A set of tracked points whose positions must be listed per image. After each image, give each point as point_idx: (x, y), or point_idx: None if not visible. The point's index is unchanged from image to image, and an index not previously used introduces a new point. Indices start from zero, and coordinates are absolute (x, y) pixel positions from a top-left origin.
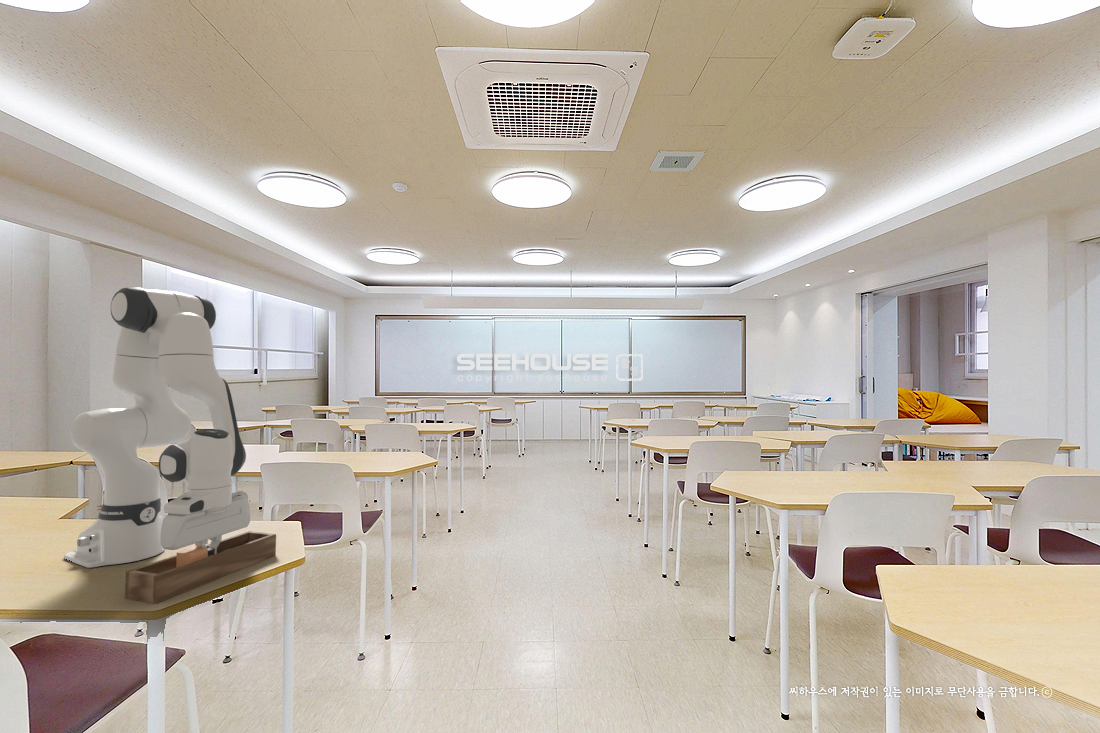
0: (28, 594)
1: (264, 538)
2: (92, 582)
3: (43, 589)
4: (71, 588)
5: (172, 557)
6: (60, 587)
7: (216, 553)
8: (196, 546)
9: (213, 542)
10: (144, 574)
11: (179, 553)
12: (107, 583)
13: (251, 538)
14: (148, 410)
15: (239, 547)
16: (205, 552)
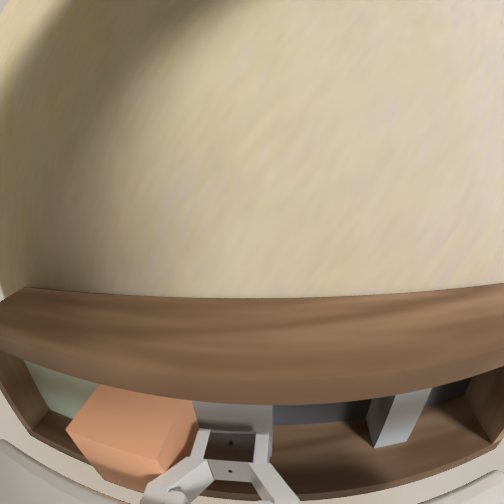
0: (6, 20)
1: (451, 468)
2: (61, 25)
3: (26, 4)
4: (27, 41)
5: (75, 371)
6: (33, 13)
7: (269, 458)
8: (157, 477)
9: (265, 496)
10: (5, 396)
11: (76, 440)
12: (59, 72)
13: None
14: None
15: (331, 497)
16: None
